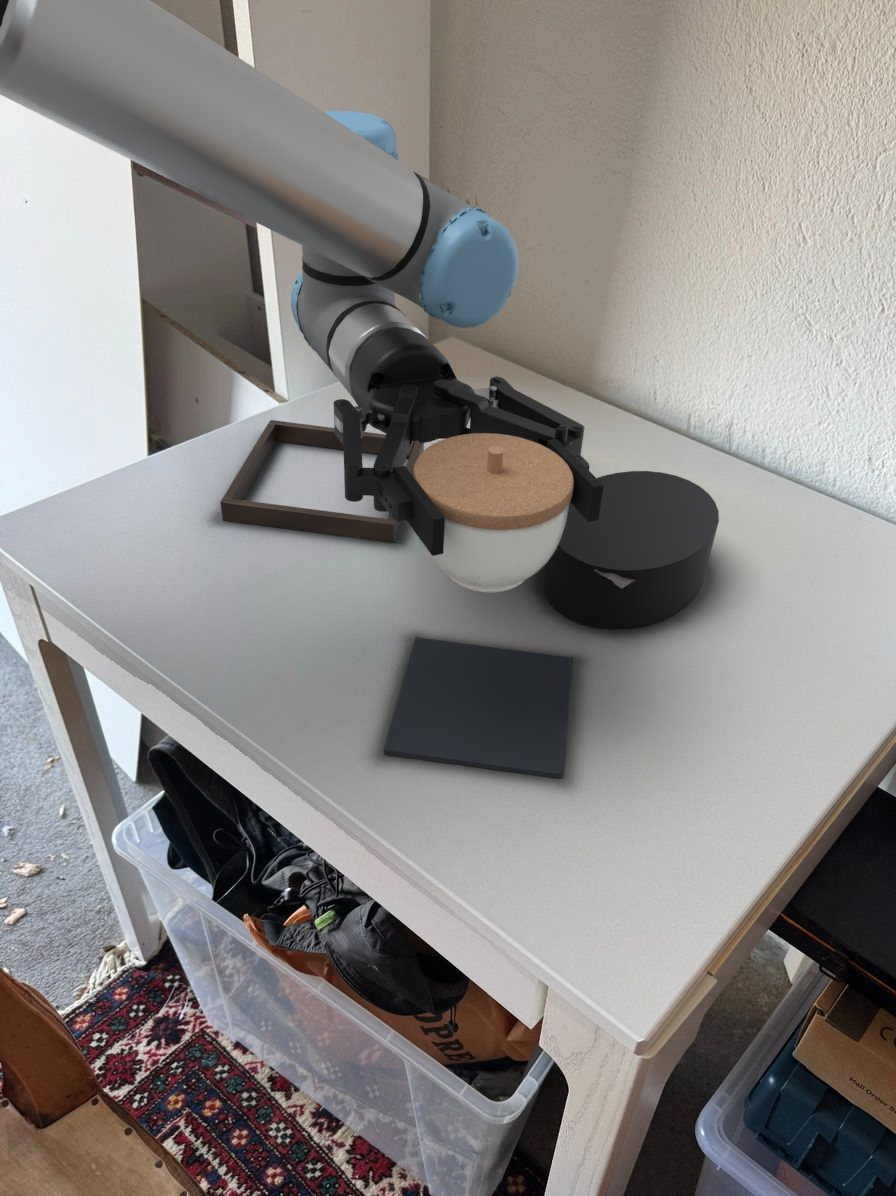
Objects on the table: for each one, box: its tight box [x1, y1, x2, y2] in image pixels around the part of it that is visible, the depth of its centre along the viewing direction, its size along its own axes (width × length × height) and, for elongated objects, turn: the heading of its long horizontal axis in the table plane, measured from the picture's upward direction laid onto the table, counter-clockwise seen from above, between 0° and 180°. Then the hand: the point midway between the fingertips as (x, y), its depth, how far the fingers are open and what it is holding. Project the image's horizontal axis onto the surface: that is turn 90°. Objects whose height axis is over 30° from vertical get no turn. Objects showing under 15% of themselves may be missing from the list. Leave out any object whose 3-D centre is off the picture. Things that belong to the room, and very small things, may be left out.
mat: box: [383, 636, 574, 779], centre depth 78 cm, size 13×13×1 cm
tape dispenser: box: [542, 470, 720, 631], centre depth 90 cm, size 14×18×8 cm
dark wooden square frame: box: [219, 419, 425, 543], centre depth 99 cm, size 16×16×2 cm
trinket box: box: [413, 433, 574, 593], centre depth 69 cm, size 11×11×9 cm
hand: (520, 520), depth 65 cm, fingers closed on trinket box, 11 cm apart
